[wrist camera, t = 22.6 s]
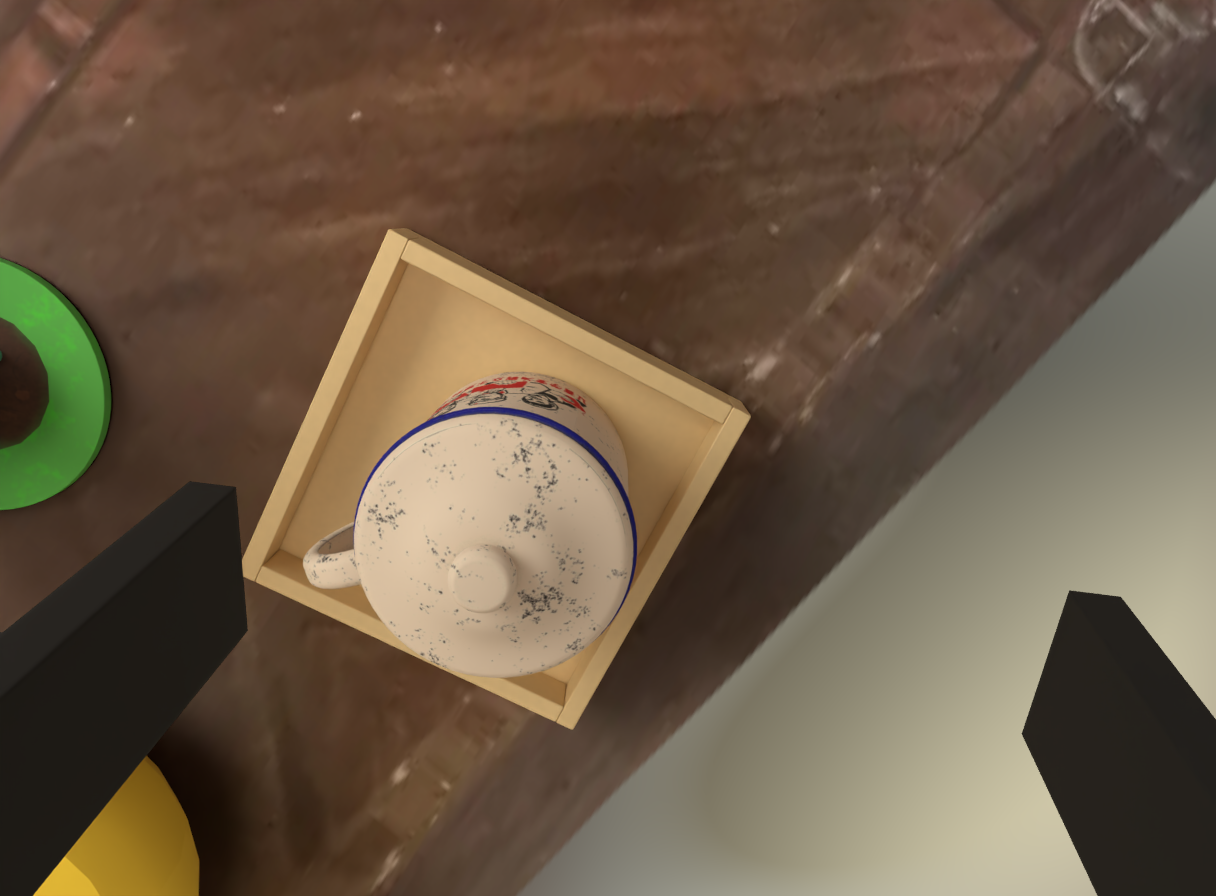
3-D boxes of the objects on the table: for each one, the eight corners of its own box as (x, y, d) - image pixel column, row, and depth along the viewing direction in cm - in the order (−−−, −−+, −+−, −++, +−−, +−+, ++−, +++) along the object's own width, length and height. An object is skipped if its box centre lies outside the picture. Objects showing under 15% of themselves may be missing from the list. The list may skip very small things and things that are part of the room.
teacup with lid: (600, 337, 36) (591, 394, 25) (658, 548, 38) (673, 688, 27) (314, 414, 37) (179, 502, 26) (385, 615, 39) (290, 778, 28)
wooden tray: (742, 401, 38) (751, 416, 35) (575, 696, 41) (572, 730, 38) (406, 227, 36) (388, 228, 33) (262, 548, 39) (235, 573, 37)
